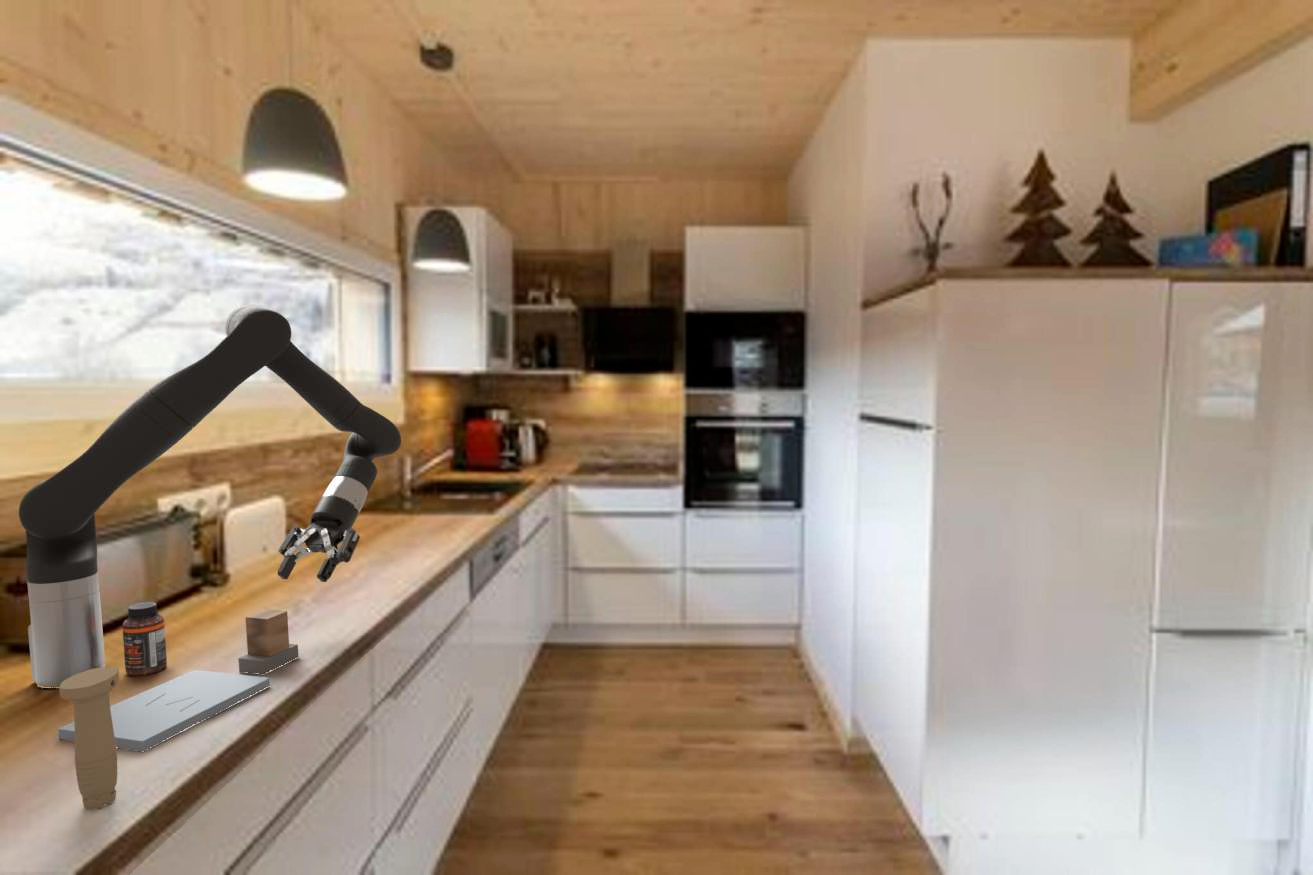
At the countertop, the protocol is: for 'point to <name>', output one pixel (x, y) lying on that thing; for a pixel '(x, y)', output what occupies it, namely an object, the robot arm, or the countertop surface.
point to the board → (174, 707)
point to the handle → (93, 734)
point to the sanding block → (267, 642)
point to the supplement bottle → (144, 640)
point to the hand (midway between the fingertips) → (301, 578)
